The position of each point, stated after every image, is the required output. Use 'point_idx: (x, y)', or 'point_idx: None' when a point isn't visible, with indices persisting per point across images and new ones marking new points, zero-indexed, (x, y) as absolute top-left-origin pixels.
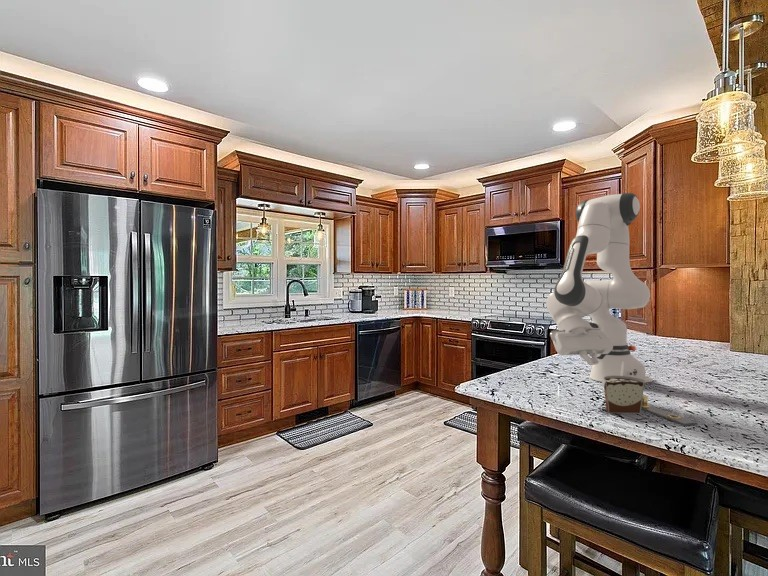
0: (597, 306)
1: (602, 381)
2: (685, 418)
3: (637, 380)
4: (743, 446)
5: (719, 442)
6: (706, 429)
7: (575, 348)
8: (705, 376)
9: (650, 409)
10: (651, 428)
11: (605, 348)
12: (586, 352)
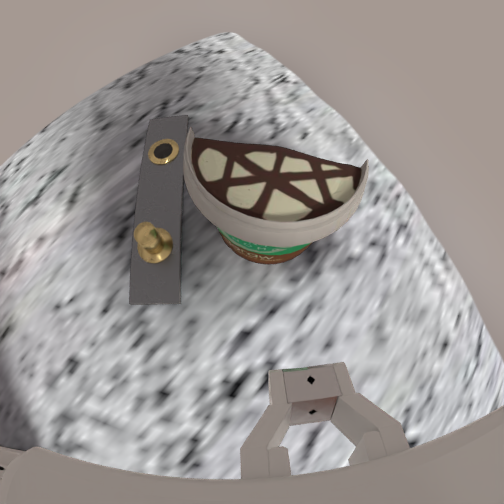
0: None
1: (362, 193)
2: (148, 140)
3: (191, 161)
4: (188, 55)
5: (209, 64)
6: (163, 103)
7: (489, 421)
8: None
9: (168, 210)
10: (281, 118)
11: (107, 467)
12: (371, 438)
